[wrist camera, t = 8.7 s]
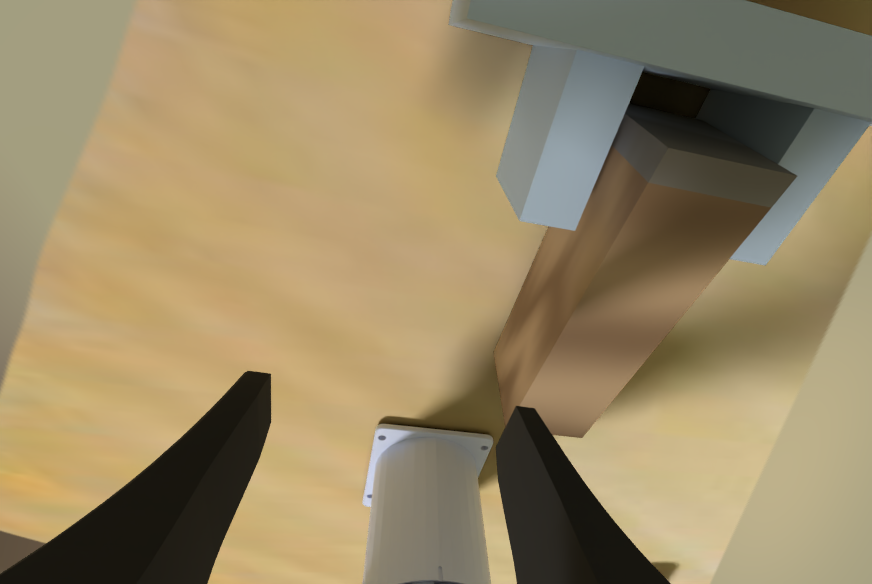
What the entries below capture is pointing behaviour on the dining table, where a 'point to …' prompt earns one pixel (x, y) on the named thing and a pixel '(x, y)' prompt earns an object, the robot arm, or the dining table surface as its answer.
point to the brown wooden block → (629, 264)
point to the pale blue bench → (683, 61)
